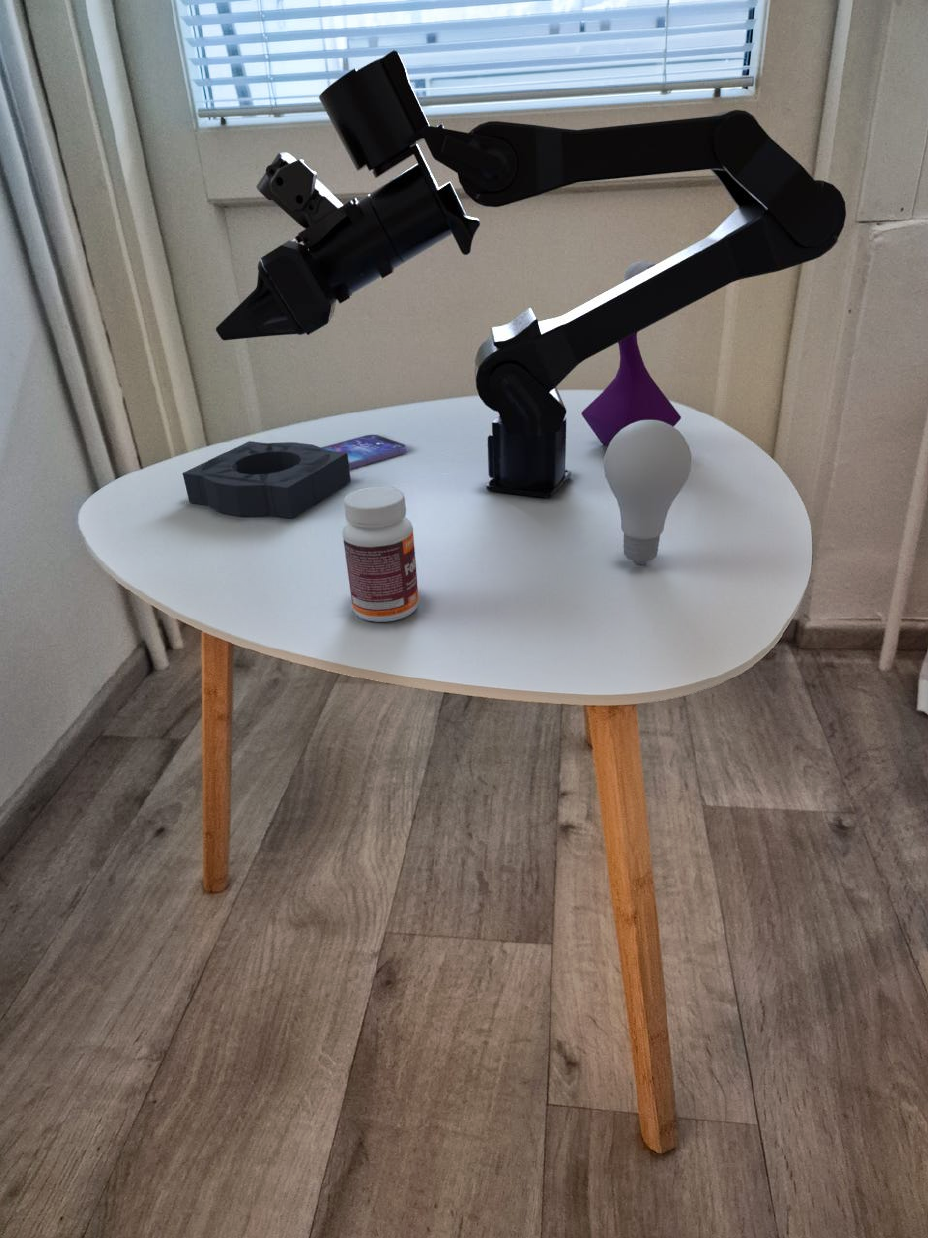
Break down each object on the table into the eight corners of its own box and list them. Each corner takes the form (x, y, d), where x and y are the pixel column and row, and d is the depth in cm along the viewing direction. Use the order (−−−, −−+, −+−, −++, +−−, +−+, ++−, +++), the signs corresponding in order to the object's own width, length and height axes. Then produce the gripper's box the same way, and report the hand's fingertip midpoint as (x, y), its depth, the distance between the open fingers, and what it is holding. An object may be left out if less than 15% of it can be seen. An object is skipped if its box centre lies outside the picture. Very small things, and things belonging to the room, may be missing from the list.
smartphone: (253, 465, 83) (373, 433, 91) (255, 473, 84) (374, 441, 91) (286, 481, 78) (410, 445, 86) (288, 490, 79) (411, 454, 86)
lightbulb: (664, 588, 57) (678, 439, 52) (586, 570, 60) (591, 427, 55) (691, 555, 62) (707, 414, 56) (617, 540, 65) (625, 405, 59)
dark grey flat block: (357, 477, 80) (354, 448, 78) (285, 524, 70) (280, 492, 69) (260, 465, 84) (255, 437, 83) (180, 506, 75) (173, 476, 73)
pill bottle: (424, 618, 55) (415, 505, 51) (355, 628, 54) (341, 514, 50) (413, 587, 59) (404, 480, 55) (349, 596, 58) (335, 488, 54)
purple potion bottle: (621, 461, 80) (633, 269, 71) (579, 442, 86) (584, 262, 77) (679, 447, 83) (697, 261, 74) (634, 430, 89) (646, 255, 80)
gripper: (346, 128, 69) (203, 222, 73) (316, 124, 53) (133, 244, 57) (410, 251, 74) (273, 333, 78) (400, 281, 58) (228, 383, 62)
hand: (232, 323), depth 69 cm, fingers open, 9 cm apart
